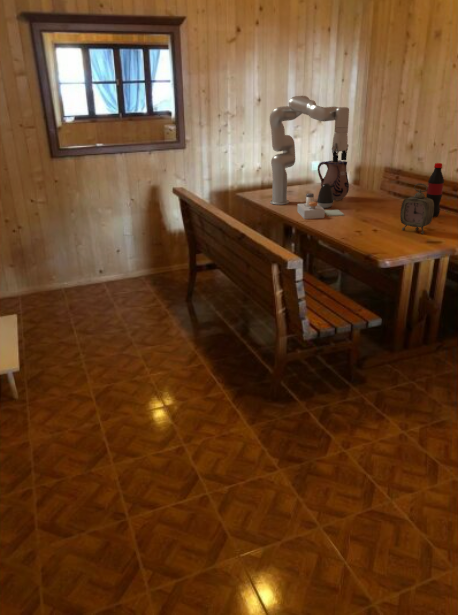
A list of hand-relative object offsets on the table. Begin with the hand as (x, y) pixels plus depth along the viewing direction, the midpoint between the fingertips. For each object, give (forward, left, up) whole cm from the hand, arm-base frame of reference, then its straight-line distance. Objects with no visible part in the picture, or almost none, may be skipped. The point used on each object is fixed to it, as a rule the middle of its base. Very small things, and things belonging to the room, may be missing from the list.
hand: (339, 161), depth 295 cm
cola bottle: (+18, +52, -31) cm, 63 cm away
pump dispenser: (-16, -2, -31) cm, 35 cm away
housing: (+1, -16, -31) cm, 35 cm away
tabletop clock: (+47, +29, -31) cm, 63 cm away
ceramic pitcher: (-38, +9, -31) cm, 50 cm away
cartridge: (-2, -16, -31) cm, 35 cm away
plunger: (+6, -16, -28) cm, 33 cm away
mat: (+1, -2, -31) cm, 31 cm away
